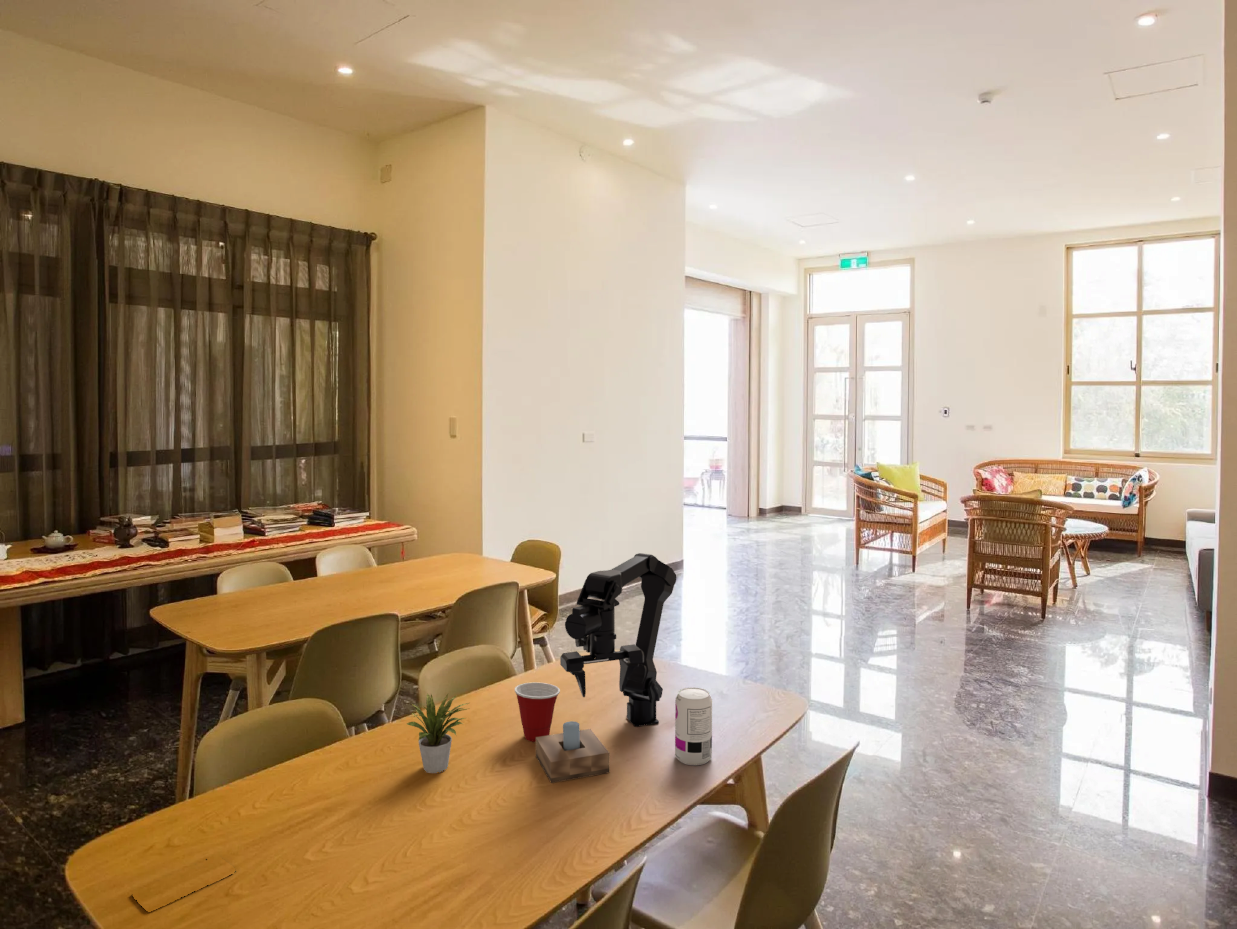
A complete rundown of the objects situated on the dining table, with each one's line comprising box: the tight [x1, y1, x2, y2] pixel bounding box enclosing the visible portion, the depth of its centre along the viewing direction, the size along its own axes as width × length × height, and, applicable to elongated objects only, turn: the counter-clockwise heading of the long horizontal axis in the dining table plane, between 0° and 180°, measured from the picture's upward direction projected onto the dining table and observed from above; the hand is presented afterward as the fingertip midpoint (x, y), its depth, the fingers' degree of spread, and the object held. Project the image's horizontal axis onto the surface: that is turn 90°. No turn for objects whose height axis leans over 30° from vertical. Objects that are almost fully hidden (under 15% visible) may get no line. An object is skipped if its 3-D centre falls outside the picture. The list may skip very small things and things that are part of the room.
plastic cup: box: [514, 681, 561, 743], centre depth 185 cm, size 11×11×12 cm
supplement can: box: [674, 687, 713, 766], centre depth 174 cm, size 8×8×15 cm
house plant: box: [406, 693, 470, 774], centre depth 168 cm, size 14×14×16 cm
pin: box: [562, 720, 580, 751], centre depth 171 cm, size 4×4×8 cm
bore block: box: [535, 728, 610, 784], centre depth 171 cm, size 13×13×4 cm
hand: (602, 693), depth 180 cm, fingers open, 9 cm apart
